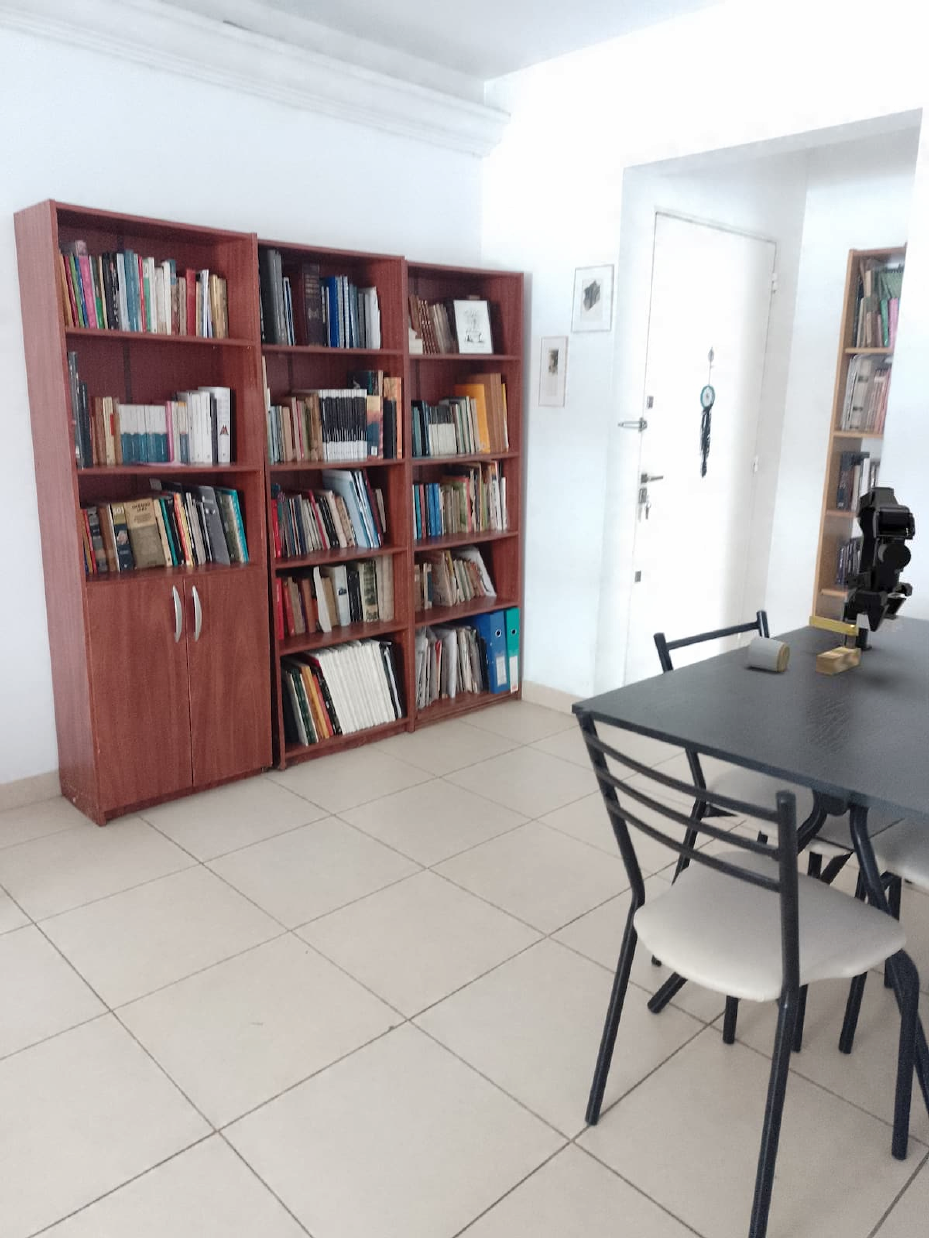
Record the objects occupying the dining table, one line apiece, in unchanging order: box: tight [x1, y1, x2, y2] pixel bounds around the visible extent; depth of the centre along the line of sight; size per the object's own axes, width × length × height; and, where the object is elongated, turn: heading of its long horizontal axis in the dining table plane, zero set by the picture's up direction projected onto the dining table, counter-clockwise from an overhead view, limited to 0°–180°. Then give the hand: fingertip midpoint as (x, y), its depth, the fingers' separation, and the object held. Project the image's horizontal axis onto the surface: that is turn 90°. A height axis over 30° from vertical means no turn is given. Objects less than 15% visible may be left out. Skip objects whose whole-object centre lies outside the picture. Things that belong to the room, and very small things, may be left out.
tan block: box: [815, 635, 862, 676], centre depth 221 cm, size 15×4×7 cm, turn 134°
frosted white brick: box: [856, 611, 904, 634], centre depth 210 cm, size 8×6×3 cm
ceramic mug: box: [746, 635, 791, 673], centre depth 221 cm, size 11×8×8 cm
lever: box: [808, 615, 859, 636], centre depth 229 cm, size 13×3×2 cm, turn 34°
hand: (878, 629), depth 210 cm, fingers closed on frosted white brick, 6 cm apart
